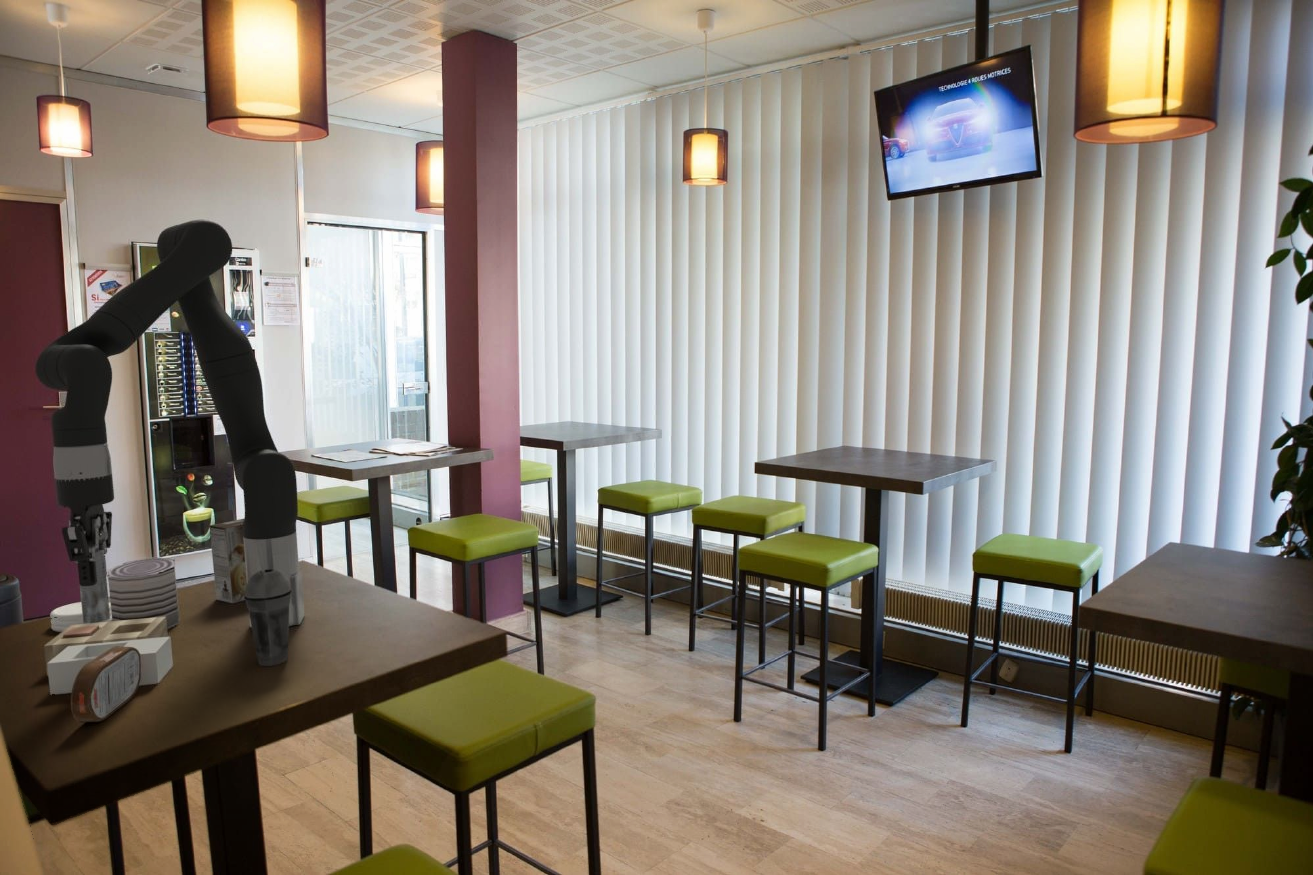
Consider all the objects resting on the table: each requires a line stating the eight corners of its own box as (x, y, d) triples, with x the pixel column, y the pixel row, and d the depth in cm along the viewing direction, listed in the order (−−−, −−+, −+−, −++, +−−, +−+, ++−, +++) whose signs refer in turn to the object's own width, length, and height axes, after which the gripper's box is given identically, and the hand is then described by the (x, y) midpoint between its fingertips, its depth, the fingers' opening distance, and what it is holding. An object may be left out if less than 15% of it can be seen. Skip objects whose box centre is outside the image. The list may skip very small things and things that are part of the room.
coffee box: (255, 588, 192) (249, 516, 190) (272, 592, 189) (267, 519, 187) (214, 599, 184) (208, 524, 183) (232, 604, 181) (226, 527, 179)
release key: (101, 650, 152) (98, 625, 151) (92, 658, 148) (90, 632, 147) (75, 653, 151) (72, 627, 150) (65, 661, 147) (63, 635, 146)
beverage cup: (306, 655, 149) (297, 540, 147) (274, 671, 143) (265, 550, 140) (271, 651, 152) (263, 537, 150) (239, 666, 145) (229, 547, 143)
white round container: (47, 636, 164) (45, 618, 163) (55, 622, 173) (54, 604, 172) (110, 627, 168) (108, 609, 168) (115, 613, 177) (113, 596, 177)
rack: (173, 665, 146) (170, 636, 146) (158, 683, 138) (155, 652, 138) (71, 675, 143) (68, 646, 142) (50, 694, 135) (47, 663, 134)
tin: (126, 690, 136) (121, 637, 135) (148, 689, 136) (143, 636, 135) (70, 733, 121) (64, 674, 120) (94, 732, 121) (88, 673, 120)
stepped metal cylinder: (113, 615, 141) (106, 535, 140) (105, 622, 138) (97, 540, 136) (88, 617, 140) (80, 537, 139) (79, 624, 137) (71, 542, 136)
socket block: (168, 643, 157) (166, 616, 157) (149, 665, 147) (146, 636, 146) (73, 652, 154) (71, 625, 153) (47, 675, 143) (44, 645, 143)
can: (194, 618, 172) (189, 558, 171) (151, 637, 161) (145, 573, 160) (143, 616, 174) (137, 557, 173) (97, 635, 163) (91, 572, 162)
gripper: (93, 479, 131) (103, 591, 133) (126, 466, 144) (135, 569, 146) (36, 482, 129) (47, 596, 131) (74, 469, 143) (84, 572, 144)
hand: (93, 581), depth 138 cm, fingers closed on stepped metal cylinder, 3 cm apart
